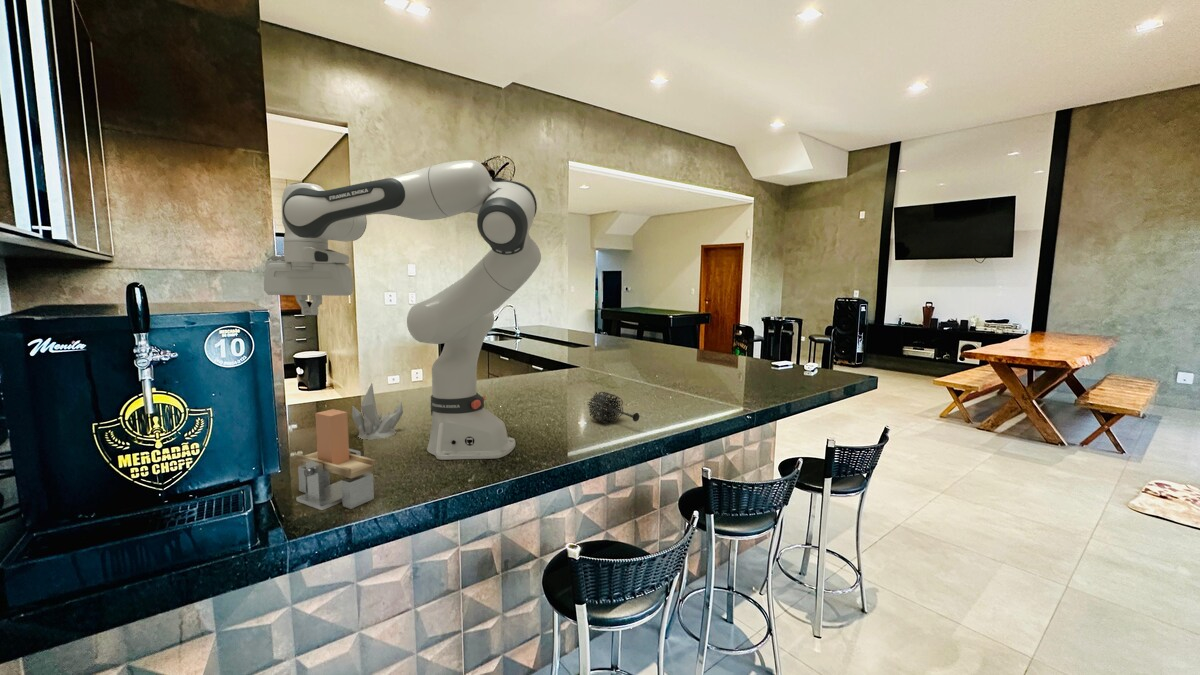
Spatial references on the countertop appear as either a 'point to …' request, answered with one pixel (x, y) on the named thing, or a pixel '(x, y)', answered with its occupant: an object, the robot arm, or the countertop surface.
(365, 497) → the fulcrum
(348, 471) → the beam
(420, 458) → the countertop surface
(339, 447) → the block
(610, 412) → the massage brush
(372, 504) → the countertop surface
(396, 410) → the crystal
